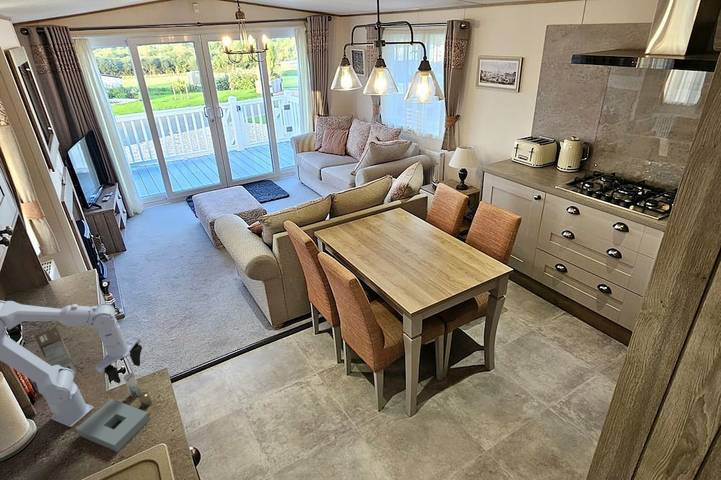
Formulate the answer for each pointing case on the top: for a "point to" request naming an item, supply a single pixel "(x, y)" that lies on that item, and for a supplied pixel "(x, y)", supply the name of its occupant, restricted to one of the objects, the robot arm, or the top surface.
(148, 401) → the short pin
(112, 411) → the hole plate
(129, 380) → the long pin
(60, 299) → the top surface
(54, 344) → the coffee box
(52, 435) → the top surface
